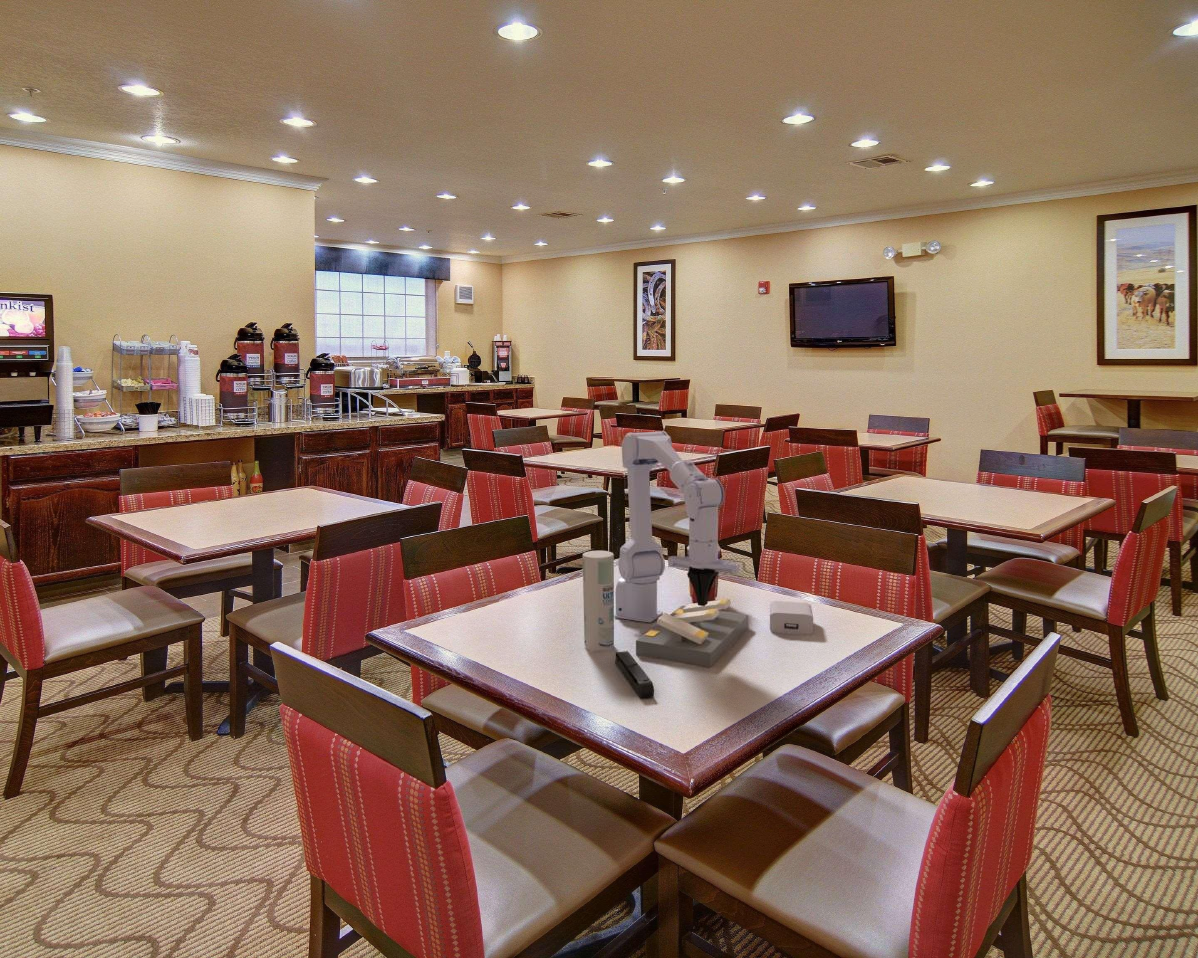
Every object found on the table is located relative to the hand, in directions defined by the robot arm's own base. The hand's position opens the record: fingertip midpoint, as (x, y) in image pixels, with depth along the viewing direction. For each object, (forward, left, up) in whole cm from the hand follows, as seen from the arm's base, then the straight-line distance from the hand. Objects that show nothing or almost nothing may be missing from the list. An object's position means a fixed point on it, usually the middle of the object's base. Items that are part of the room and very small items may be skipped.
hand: (702, 604), depth 154 cm
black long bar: (-7, -19, -11) cm, 23 cm away
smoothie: (-12, +34, -11) cm, 38 cm away
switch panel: (-4, +6, -10) cm, 13 cm away
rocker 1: (-4, -2, -6) cm, 7 cm away
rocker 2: (-4, +6, -6) cm, 9 cm away
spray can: (-21, -6, -11) cm, 24 cm away
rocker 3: (-4, +14, -6) cm, 16 cm away
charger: (+12, +27, -11) cm, 31 cm away
